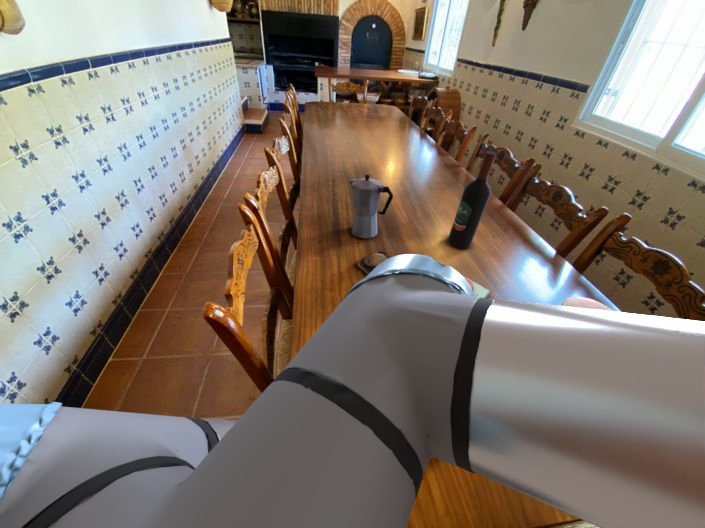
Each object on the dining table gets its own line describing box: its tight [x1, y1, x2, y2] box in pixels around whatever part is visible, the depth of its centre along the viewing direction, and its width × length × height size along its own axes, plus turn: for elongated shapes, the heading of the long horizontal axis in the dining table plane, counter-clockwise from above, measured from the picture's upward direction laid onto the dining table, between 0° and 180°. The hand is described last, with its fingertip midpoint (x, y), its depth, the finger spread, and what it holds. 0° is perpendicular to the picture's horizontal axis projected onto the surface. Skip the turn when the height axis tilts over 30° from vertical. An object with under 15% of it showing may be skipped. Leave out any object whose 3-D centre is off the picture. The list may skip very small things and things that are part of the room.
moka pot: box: [348, 174, 394, 239], centre depth 94 cm, size 10×15×20 cm, turn 64°
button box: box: [462, 275, 491, 298], centre depth 78 cm, size 13×10×4 cm
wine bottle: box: [447, 150, 497, 250], centre depth 90 cm, size 8×8×30 cm
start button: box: [464, 277, 474, 289], centre depth 76 cm, size 4×4×2 cm
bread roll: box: [356, 250, 391, 276], centre depth 86 cm, size 11×8×4 cm
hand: (363, 465), depth 37 cm, fingers open, 13 cm apart
